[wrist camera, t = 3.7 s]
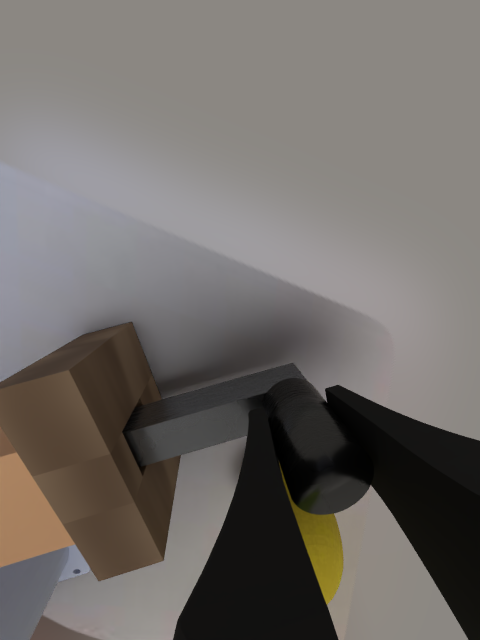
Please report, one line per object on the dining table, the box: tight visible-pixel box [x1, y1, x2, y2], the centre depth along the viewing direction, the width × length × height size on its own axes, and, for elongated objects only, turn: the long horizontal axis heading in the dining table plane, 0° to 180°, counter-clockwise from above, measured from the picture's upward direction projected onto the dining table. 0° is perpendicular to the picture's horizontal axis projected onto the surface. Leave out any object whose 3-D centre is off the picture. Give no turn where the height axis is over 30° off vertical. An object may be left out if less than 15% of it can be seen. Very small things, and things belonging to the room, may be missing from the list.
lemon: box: [279, 463, 343, 605], centre depth 14 cm, size 6×6×8 cm
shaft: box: [122, 363, 374, 515], centre depth 10 cm, size 15×3×6 cm, turn 104°
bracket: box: [0, 322, 181, 581], centre depth 12 cm, size 3×10×6 cm, turn 14°
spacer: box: [0, 427, 75, 567], centre depth 11 cm, size 4×5×4 cm
